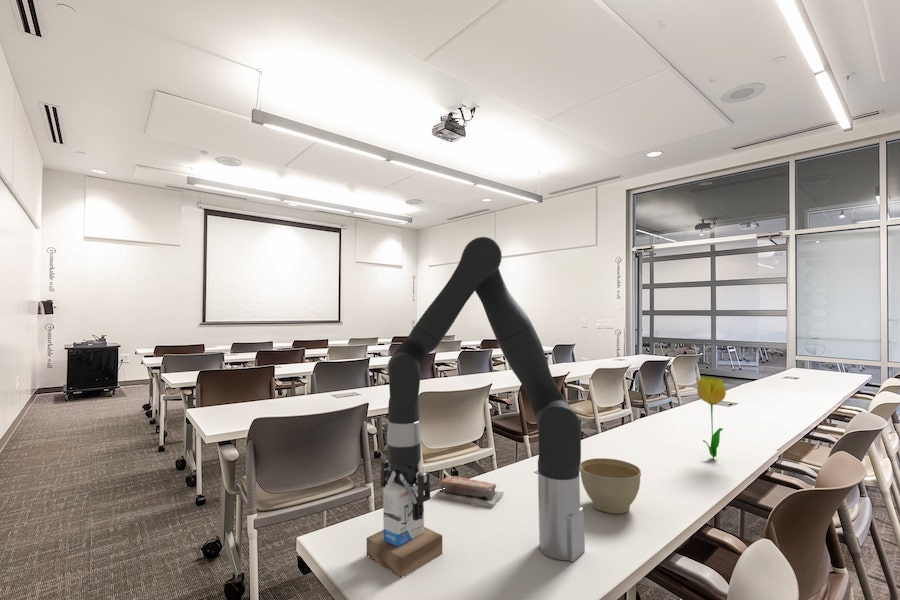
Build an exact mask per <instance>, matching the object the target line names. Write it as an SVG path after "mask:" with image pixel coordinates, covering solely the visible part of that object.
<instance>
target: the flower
mask: <svg viewBox="0 0 900 600" xmlns="http://www.w3.org/2000/svg"><path fill="white" fill-rule="evenodd" d="M696 386H697V387H696V391H697V396H698V398H699V399H700V400H702V401H704V402H706V403H707V404H709V405H710V417H711V422H710V423H711V438H710V439H711V441H710V445H709V444H708V442H707V441H706V440H705V439H703V440H702V442H703V443H705V444H706V446H707V447H708V451H709V454H710V456H711V457H712V459H713V460H714V459H715V458H717V455H718V451H717V450H718V447H719V444H720V440H721V439H720V435H721V431H723V430H724V428H721V427H719V428H718V429H717V430H716V431H715V432H714V430H713V429H714V427H713V425H714V424H713V418H714V417H713V416H714V415H713V410H714V408H713V407H714V405H717V404H719V403H720V402H722V401H724V399H725V398H726V394H727V390H726V388H725V386H724V381H723V379H717V378H716V377H712V376H708V377H706V376H700V378H699V379H698V381H697V385H696ZM713 432H714V433H713Z"/></svg>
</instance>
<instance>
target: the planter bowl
mask: <svg viewBox="0 0 900 600" xmlns="http://www.w3.org/2000/svg"><path fill="white" fill-rule="evenodd" d="M579 473H580V479H581V482H582V486H583V488H584V490H585V493H586V494H587V496H588V498H589V499H590V500H591V501H592V506H593V507H594V509H596V510H598V511H601V512H603V513H607V514H625V513H627V512H628V511H629V510H630V507H631V505H632V504H633V502H634V501H635V500H636V497H637V495H638V494H639V490H640V485H641V476H642V470H641V468H640V467H639V466H638V465H635V464H633V463H631V462H627V461H624V460H620V459H615V458H606V457H605V458H604V457H602V458H601V457H599V458H598V457H597V458H589V459H584V460H583V461H581V463H580V467H579Z"/></svg>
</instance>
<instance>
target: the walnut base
mask: <svg viewBox="0 0 900 600" xmlns="http://www.w3.org/2000/svg"><path fill="white" fill-rule="evenodd" d="M441 555H443V535H442V534H441V533H439V532H436V531H434V530H432V529H430V528H427V526H426V527H425V526H424V533H422V534H420V535H419V536H417V537H415V538H413V539H412V540H410V541H408V542H406V543H405V544H403V545H401V546H399V547H397V546H395V545H393V544H390V543H388V542H386V541H384V529H382V530H380V531H378V532H376V533H374V534H372V535H369V536H367V537H366V557H367V556H369V557H370V558H372V559H374V560H375V561H376V562H375V561H374V560H373V561H374V562H375V563H377V562H378V563H377V564H378V565H380V564H381V565H380V566H382V565H383V566H384V568H385V567H386V568H385V569H387V568H388V569H389V570H388V569H387V570H388V571H390V570H391V571H392V572H391V571H390V572H391V573H393V572H394V574H395V573H396V574H397V575H396V574H395V575H396V576H398V575H399V576H401V577H403V576H405V575H406V576H408V575H410V574H411V573H413V572H414V571H416V570H418V569H419V568H421V567H422V565H423V566H424V565H426V564H428V563H430V562H431V561H432V560H434V559H436V558H437V557H439V556H441ZM369 557H368V558H369ZM370 558H369V559H370ZM372 559H371V560H372ZM427 562H428V563H427ZM383 566H382V567H383ZM417 568H418V569H417ZM415 569H416V570H415ZM412 571H413V572H412ZM409 573H410V574H409ZM407 574H408V575H407ZM399 576H398V577H399ZM406 576H405V577H406ZM401 577H400V578H401ZM403 578H404V577H403Z"/></svg>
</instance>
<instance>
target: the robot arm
mask: <svg viewBox="0 0 900 600" xmlns="http://www.w3.org/2000/svg"><path fill="white" fill-rule="evenodd" d="M502 257H503V256H502V249H501V247H500V245H499V244H498V242H497V241H495V239H492V238H491V237H487V236H480V237H475V238H474V239H472V240H471V241H469V242H468V243H467V244H466V245H465V247H464V249H463V251H462V254H461V256H460V259H459V260H460V261H459V262H458V264H457V266H456V268H455V270H454V271H453V273H452V275H451V276H450V278H449V279H448V281H447V283H446V284H445V285H444V287H443V288H442V289H441V291H440V292H439V293H438V294H437V296H436V297H435V298H434V300H433V301H432V302H431V303H430V305H429V306H427V308H426V310H424V313H423V314H422V315H421V316H420V318H419V319H418V321H417V322H416V324H415V325H414V327H413V328H412V330H411V331H410V333H409V335H408V336H407V337H406V338H405V339H404V341H402V343H401V344H400V345H399V346H398V348H397V349H396V350H395V351H394V353H393V354H392V355H391V357H390V358H389V360H388V361H387V362H388V363H387V371H388V383H389V384H388V385H389V399H388V408H387V411H388V412H387V413H388V419H387V420H388V423H387V431H386V434H387V435H386V436H387V437H386V439H387V440H386V443H387V446H386V447H387V448H386V449H387V451H386V452H387V456H386V457H387V459H386V460H384V461H381V463H380V483H379V484H380V487H381V488H383V487H385V485H387V484H390V483H393V482H395V483H397V484H399V485H401V486H404V487H405V489H406V491H407V493H408V494H409V495H410V496H411V498H412V501H413V520H415V521H417V520H419V519H421V518H422V516H423V502H424V503H425V502H427V501H429V500H431V484H430V473H429V471H427V470H426V471H423V472H421V471H420V470H419V463H420V462H421V458H422V456H421V455H422V454H421V451H422V449H421V447H422V445H421V444H422V443H421V438H422V437H421V435H422V433H421V432H422V431H421V424H420V401H419V395H420V394H419V393H420V383H421V366H422V364H423V363H424V361H425V360H426V359H427V357H428V356H429V354H430V353H432V352H434V351H435V350H436V348H437V347H438V346H439V345H440V343H441V342H442V340H443V339H444V338H445V337H446V335H447V333H448V332H449V330H450V329H451V327H452V325H453V324H454V323H455V322H456V321H455V320H456V319H457V318H458V316H459V315H460V313H461V312H462V310H463V308H464V306H465V305H466V303H467V302H468V301H469V299H470V298H471V297H472V295H473V294H474V292H475V294H477V297H478V298H479V301H480V302H481V304H482V306H483V309H484V312H485V314H486V317H487V320H488V322H489V325H490V327H491V329H492V333H493V334H494V337H495V339H496V342H497V343H498V345H499V348H500V350H501V352H502V354H503V356H504V358H505V360H506V362H507V363H508V365H509V366H510V368H511V370H512V372H513V373H514V375H515V376H516V378H517V379H518V381H519V382H520V384H521V385H522V387H523V389H524V391H525V392H526V393H525V394H526V396H527V397H528V401H529V403H530V405H531V408H532V412H533V414H534V417H535V423H536V426H537V429H538V458H537V477H538V478H537V481H538V482H537V483H538V484H537V485H538V486H537V487H538V489H537V490H538V497H537V498H538V531H539V532H538V533H539V534H538V535H539V536H538V538H539V541H538V542H539V550H540V551H541V552H542V554H544V555H545V556H547V557H549V558H551V559H555V560H561V561H567V562H568V561H569V562H571V563H572V562H575V560H577V559H578V558H579V557H580V556H582V554H583V553H584V552H585V551H586V548H585V547H586V542H585V541H586V540H585V511H584V510H585V509H584V508H583V506H582V507H581V497H580V495H581V494H580V493H581V489H580V468H579V467H580V463H581V462H582V434H581V433H582V431H581V422H580V419H579V417H578V415H577V413H576V412H575V410H574V409H573V408H572V407H571V406H570V403H568V402H567V401H566V399H565V398H564V395H563V394H562V392H561V390H560V389H559V387H558V386H557V385H558V384H557V383H556V382H555V380H554V377H553V375H552V372H551V369H550V367H549V364H548V359H547V356H546V353H545V350H544V347H543V345H542V342H541V340H540V338H539V335H538V333H537V331H536V329H535V327H534V325H533V324H532V321H531V319H530V318H529V316H528V315H527V313H526V312H525V311H524V309H523V308H522V306H521V305H520V304H519V303H518V302H517V300H515V298H514V297H513V296H512V294H511V292H510V291H509V290H508V287H507V286H506V282H505V281H504V278H503V276H502V273H501V271H500V266H501V263H502ZM414 483H415V485H416V487H414V488H411V487H412V486H413V485H414ZM415 492H417V494H418V497H416V494H415ZM423 492H424V494H423Z"/></svg>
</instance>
